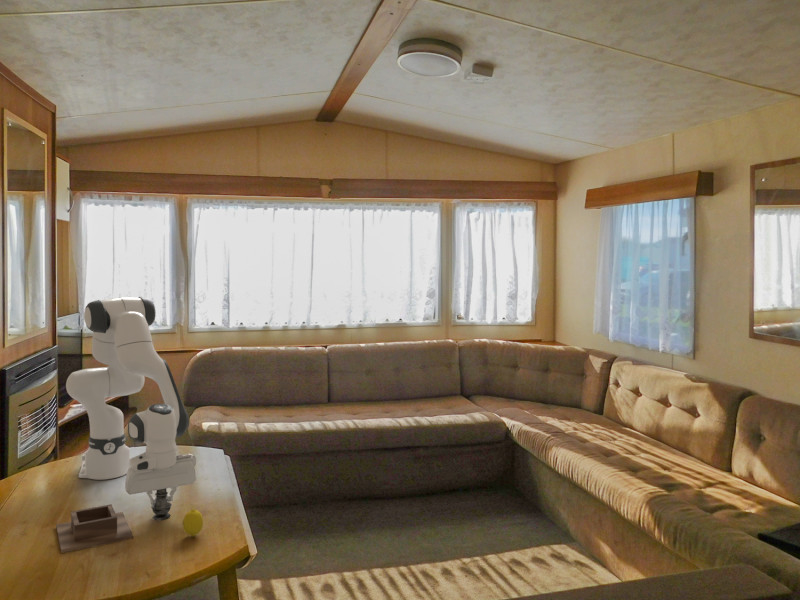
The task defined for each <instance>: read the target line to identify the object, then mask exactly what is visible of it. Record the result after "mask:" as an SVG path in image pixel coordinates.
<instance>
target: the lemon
mask: <svg viewBox="0 0 800 600" xmlns="http://www.w3.org/2000/svg"><path fill="white" fill-rule="evenodd" d="M182 521H183V522H182V527H183V531H184V532H185V534H186V535H189V536H191V537H196V535H198V534H199V533H201V531H202V529H203V526H204V517H203V515H202V512H201V511H199V510H197V509H195V508H193V509H191V510H189V511H188V512H186V514H185V515H184V517H183V520H182Z"/></svg>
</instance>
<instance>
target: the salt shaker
mask: <svg viewBox="0 0 800 600" xmlns="http://www.w3.org/2000/svg"><path fill="white" fill-rule="evenodd" d="M155 491H156V492H155V494H154V495H155V497H156V504H153V505H150V506H151V507H150V508H151V509H152V512H153V514H154V515H153V516H152V520H153V521H166V520H168V519H170V518H171V517H172V515H171V514H170V513H169V512H170V511H171V508H172V503H171V501H169V502H168V501H167V495H168V494H169V491H167V488H166V489H160V490H155ZM170 516H171V517H170Z"/></svg>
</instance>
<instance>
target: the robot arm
mask: <svg viewBox="0 0 800 600" xmlns="http://www.w3.org/2000/svg"><path fill="white" fill-rule="evenodd" d="M156 314H157V313H156V306H155V304H154V302H153V301H152V300H151V299H150V298H148V297H143V296H139V297H133V296H132V297H130V296H129V297H127V296H125V297H124V296H123V297H118V298H116V297H115V298H109V299H103V300H99V299H98V300H97V299H96V300H93V301H90V302H88V303H87V304H86V305H85V308H84V313H83V320H84V323H85V325H86V328H87V329H89V330H90V331H91V332H92V339H91V340H92V342H91V355H92V357H93V358H94V359H95V360H96V361H97V362H99V363H101V364H103V365H106V366H105V367H92V368H84V369H78V370H76V371H73V372H71V373H70V374H69V376H68V377H67V378H66V383H65V389H66V392H67V394H68V395H69V396H70V397H71V398H72V399H73V400H75V401H77V402H78V403H79V404H81V405H82V407H83V408H84V409H85V410H86V413H87V416H88V421H89V436H88V449H87V451H86V453H84V454H82V455H81V460H82V464H81V468H80V471H79V472H78V478H79V479H90V480H95V481H96V480H98V481H99V480H100V481H101V480H111V479H115V478H119V477H123V476H125V485H124V489H125V491H126V493H127V494H128V495H136V494H141V493H142V494H143V493H146V494H147V496H148V499H150V500H149V503H150V506H152V505H153V504H156V496H152V495H153V491H154V492H155V491H156V490H160V489H166V490H167V489H171V490H170V492H169V493H168V494H167V502H173V501H174V495H175V493H176V492H177V491H178V490H177V487H182V486H188V485H192V484H193V485H194V483H195V482H196V481H197V474H196V468H195V466H197V457H196V456H195V455H193V454H192V453H191V454H190V453H188V454H181V455H178V454H177V452H178V450H177V449H178V447H177V443H176V438H180V437H182V436H183V435H185V433H186V432H187V430H188V428H189V427H190V422H191V421H190V417H189V414H188V411H187V409H186V407H185V406H184V404H183V402H182V398H181V396H180V393H179V390H178V386H177V385H176V383H175V379H174V376H173V374H172V371H171V369H170V365H169V363H168V362H167V361H166V359H165V358H163V357H161V356H160V355H159V354H158V352H157V351H156V349H155V346H154V342H153V338H152V334H151V330H150V326H151V325H153V323H154V322H155V321H156V320H155V319H156ZM145 377H146V378H149V379H151V380H153V381H154V382H155V383H156V384H157V385H158V388H159V391H160V394H161V397H162V400H163V402H164V403H156V404H152V405H150V406H148V407H147V409H145V410H143V411H139V412H136V413H134V414H133V415H132V416H131V417H130V418H129V420H128V423H127V432H128V433H127V434H128V437H129V438H130V439H131V440H133V442H136V444H137V443H138V444H145V445H146V447H145V452H143V453H140V454H139V455H136V456H134V457H131V452H130V451H131V450H130V447H129V446H127V445H126V433H125V432H124V431H125V430H124V428H125V427H124V426H125V424H124V423H125V422H124V420H125V419H124V418H125V417H124V413H123V412H122V410H121V409H120V408H118V407H115V406H113V405H111V404H110V405H109V404H107V403H106V399H108V398H117V397H125V396H129V395H133V394H136V393H139V392H141V390H142V389H143V388H144V385H145V380H146V378H145Z"/></svg>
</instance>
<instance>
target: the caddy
mask: <svg viewBox="0 0 800 600" xmlns="http://www.w3.org/2000/svg"><path fill="white" fill-rule="evenodd" d="M55 528H56V532H57V533H58V534H57V537H58V538H57V539H58V544H59V548H60V549H61V550H60V549H59V550H60V554H63V553H62V552H65V553H69V551H70V552H73V550H75V551H79V550H78V549H80V550H83V549H84V550H85V549H89V548H93V547H98V546H103V545H107V544H113V543H117V542H123V541H127V540H132V539H134V534H133V532H132V530H131V528H130V525H129V523H128V521H127V518H126V517H125V513H124V511H121V512H115V509H114V507H113V505H112V504H105V505H99V506H93V507H88V508H83V509H78V510H77V509H76V510H73V511H70V521H67V522H61V523H56V526H55Z"/></svg>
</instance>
